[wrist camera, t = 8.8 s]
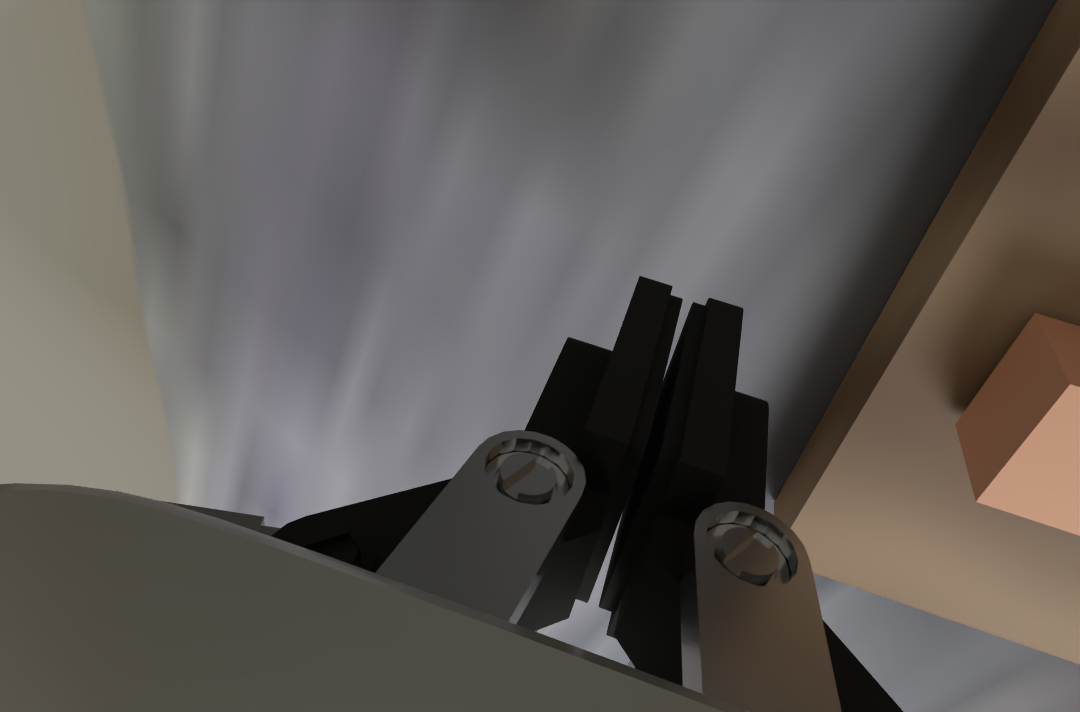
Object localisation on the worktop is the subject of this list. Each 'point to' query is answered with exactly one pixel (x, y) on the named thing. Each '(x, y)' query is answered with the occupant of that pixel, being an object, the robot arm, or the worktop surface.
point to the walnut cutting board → (959, 382)
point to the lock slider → (1029, 428)
